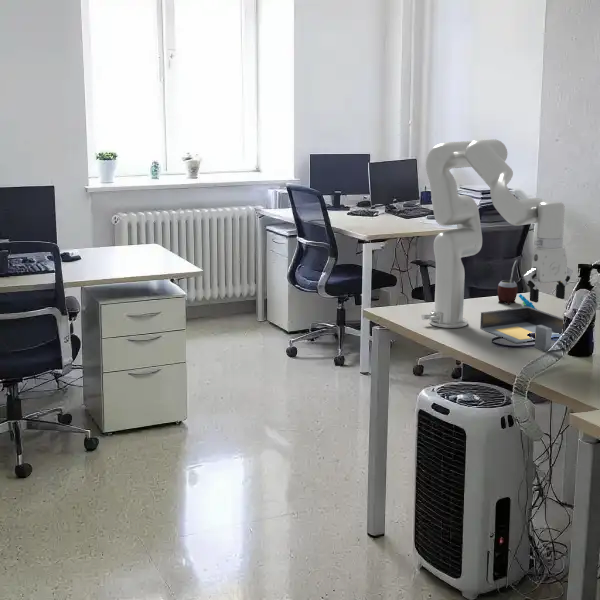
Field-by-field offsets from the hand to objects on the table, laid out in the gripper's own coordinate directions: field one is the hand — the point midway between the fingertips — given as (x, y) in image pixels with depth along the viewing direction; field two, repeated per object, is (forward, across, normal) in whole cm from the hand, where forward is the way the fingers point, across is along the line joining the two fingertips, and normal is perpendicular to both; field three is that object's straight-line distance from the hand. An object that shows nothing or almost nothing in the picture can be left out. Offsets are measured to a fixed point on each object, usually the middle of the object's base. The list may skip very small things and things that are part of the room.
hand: (547, 299), depth 271 cm
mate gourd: (+15, +26, +54) cm, 62 cm away
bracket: (+16, +2, +1) cm, 16 cm away
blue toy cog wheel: (+15, +22, +36) cm, 45 cm away
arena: (+15, +5, +18) cm, 24 cm away
